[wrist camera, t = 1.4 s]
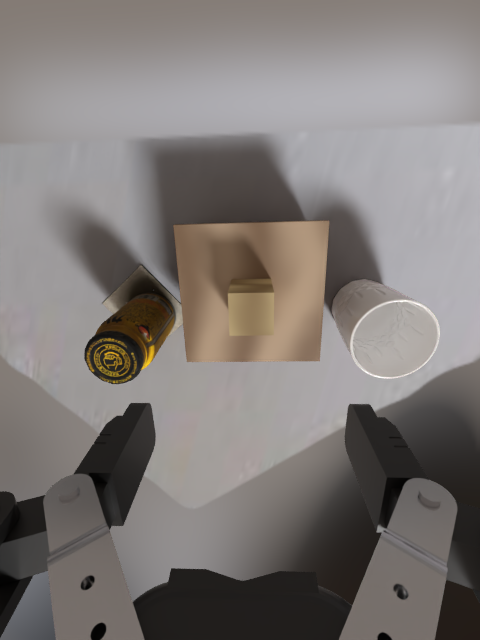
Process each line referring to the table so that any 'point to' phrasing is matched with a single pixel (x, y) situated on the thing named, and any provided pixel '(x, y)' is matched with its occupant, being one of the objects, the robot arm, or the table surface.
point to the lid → (252, 289)
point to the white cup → (384, 328)
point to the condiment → (132, 328)
